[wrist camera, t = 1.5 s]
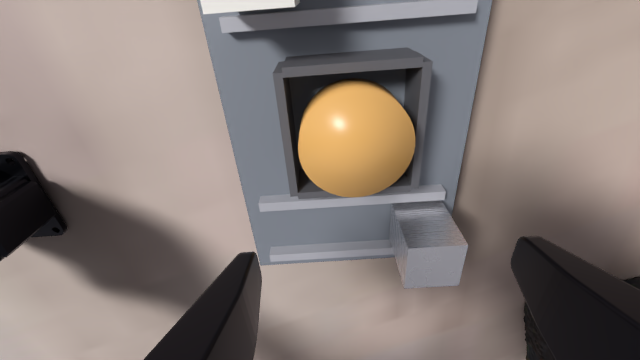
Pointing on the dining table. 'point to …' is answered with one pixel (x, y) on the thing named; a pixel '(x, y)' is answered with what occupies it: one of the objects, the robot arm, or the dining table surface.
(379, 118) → the button amber
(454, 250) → the grey metal block
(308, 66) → the control panel
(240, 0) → the lever ivory
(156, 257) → the dining table surface
